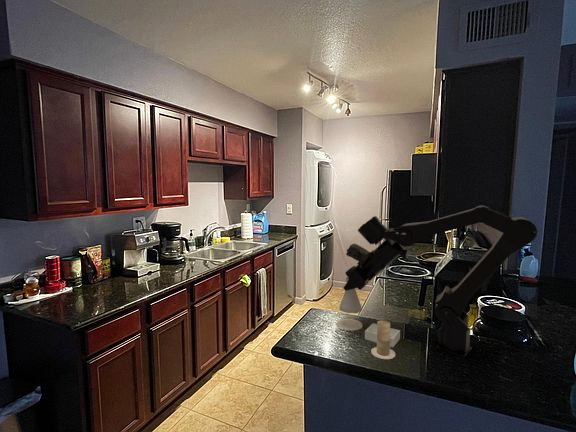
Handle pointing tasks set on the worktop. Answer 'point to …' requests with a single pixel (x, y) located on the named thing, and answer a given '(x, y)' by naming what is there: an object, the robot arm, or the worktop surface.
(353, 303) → the flask
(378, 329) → the birch peg
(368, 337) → the grey cover
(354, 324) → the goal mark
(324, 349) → the worktop surface
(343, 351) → the worktop surface
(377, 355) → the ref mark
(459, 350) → the robot arm
